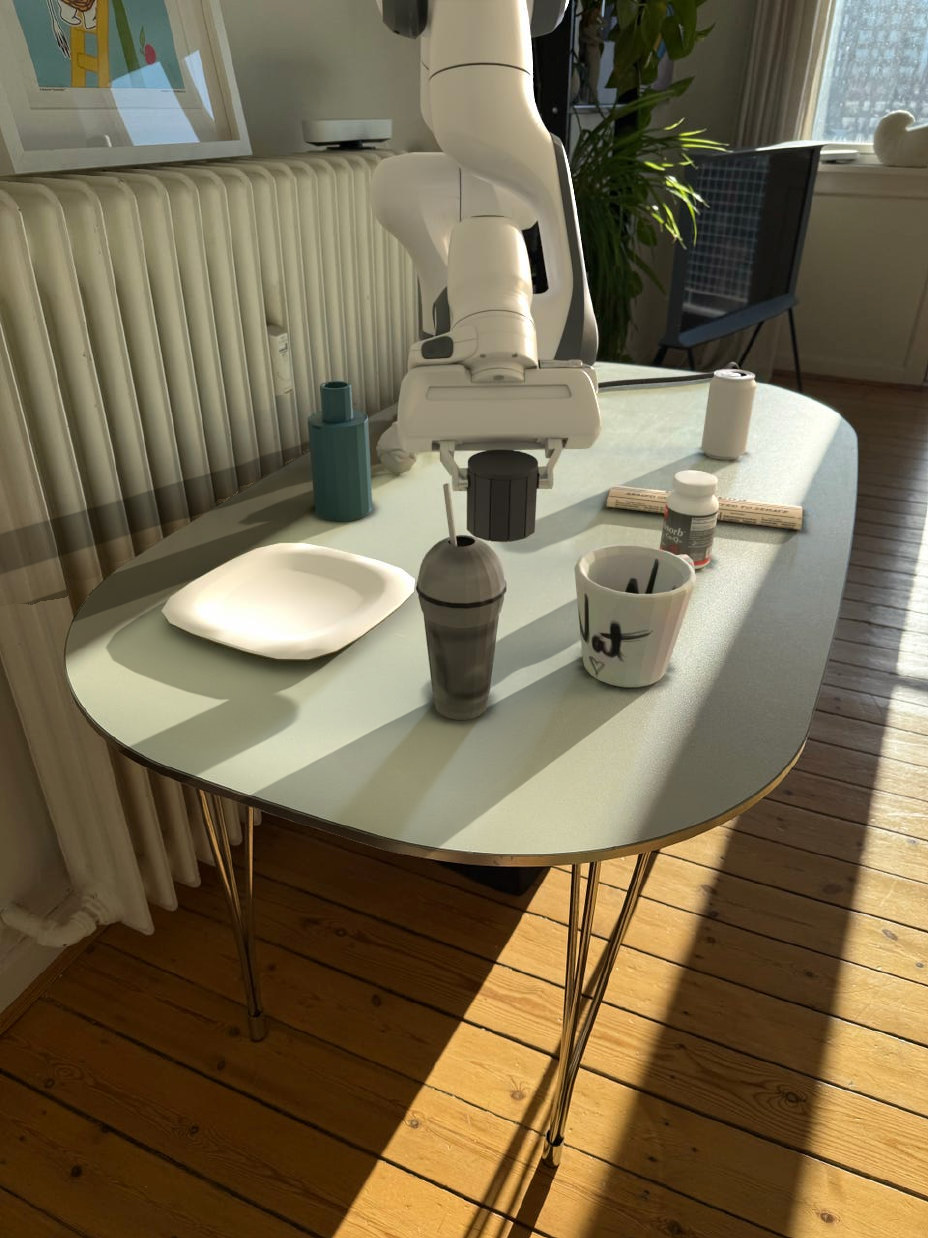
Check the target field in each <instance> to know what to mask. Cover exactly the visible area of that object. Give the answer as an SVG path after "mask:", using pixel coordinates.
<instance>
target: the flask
mask: <svg viewBox="0 0 928 1238" xmlns="http://www.w3.org/2000/svg"><path fill="white" fill-rule="evenodd" d="M352 390H353V389H352V384H351V383H350V382H348V381H345V380H344V381H343V380H331V381H326V382H322V383H321V384H320V385H319V394H320V407H321V408H320V409H321V410H320V411H318V412H315V413H312V414H311V415H309V416H307V430H308V441H309V452H310V466H311V478H312V489H313V490H312V491H313V503H314V512H315V515H316V516H317V517H318V518H320V519H321V520H325V521H330V522H342V523H343V522H344V523H345V522H353V521H358V520H361V519H363V518H366V517H368V516H369V515H371V513H372V512H373V491H372V489H373V488H372V472H371V453H370V451H371V450H370V432H369V431H370V430H369V429H370V428H369V418H368V414H366V413H364V412H362V411H358V410H354V409H353V391H352Z"/></svg>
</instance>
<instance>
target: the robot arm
mask: <svg viewBox="0 0 928 1238" xmlns="http://www.w3.org/2000/svg"><path fill="white" fill-rule="evenodd" d="M569 1H570V0H375V3H376V5H377V6H376V7H377V8H378V11H379V13H380V15H381V17H382V23H383V24H384V25H385V26H386V27H387V29H389V31H390V32H392V33H393V34H396V35H398V36H401V37H404V38H407V39H412V40H417V38H419V37H420V51H419V52H420V59H419V61H420V62H419V63H420V65H419V67H420V69H419V71H420V72H419V75H420V77H419V78H420V79H419V83H420V84H419V86H420V87H419V89H420V90H419V93H420V94H419V95H420V96H419V100H420V103H419V105H420V107H419V109H420V113H421V116H422V119H423V120H424V123H425V124H426V126H427V127H428V128H429V130H430V131H431V133H433V136H434V138H435V141H436V143H437V145H438V146H439V148H440V149H441V151H442V152H439V151H437V152H435V151H434V152H433V151H429V152H428V151H424V152H423V151H413V152H407V153H402V154H398V155H393V156H389V157H386V158H382V160H380V162H379V163H378V164H377V166H376V167H375V169H374V171H373V173H372V176H371V178H370V181H369V188H368V197H369V204H370V207H371V210H372V213H373V215H374V217H375V219H376V220H377V222H378V223H379V225H380V226H381V227H382V228H384V230H385V231H387V232H388V233H389V234H391V235H392V236H393V237H394V238H395V239H397V241H398V242H399V243H400V244H401V245H402V247H403V248H404V249H405V251H406V252H407V254H408V255H409V258H410V259H411V261H412V263H413V265H414V268H415V270H416V274H417V278H418V283H419V290H420V301H421V313H422V314H421V315H422V317H421V318H422V328H421V329H420V331H419V338H418V339H419V340H418V341H416V342H414V343H413V344H411V346H410V348H409V351H408V356H407V373H406V374H405V375H404V377H403V379H402V381H401V385H400V389H399V390H400V391H399V396H398V403H397V419H396V421H397V440H398V444H399V446H400V447H401V448H402V449H403V450H404V451H405V452H419V453H439V462H440V463H441V464H442V466H443V467H444V469H445V470H446V471H447V473H448V475H450V477H451V488H452V492H467V490H468V489H467V488H468V478H467V475H468V474H467V469H468V467H459V464H457V462H456V461H455V453H456V452H483V451H488V450H514V451H540V450H541V451H542V450H543V451H544V456H545V458H546V459H548V462H547V463H546V465H543V466H538V477H537V490H552V489H553V487H554V481H555V480H554V469H555V467H556V465H557V463H558V462H559V459H560V457H561V454H562V451H563V450H587V449H591V448H592V447H593V445H594V444H595V443H596V442H597V440H598V439H599V437H600V435H601V432H602V429H603V424H602V415H601V411H600V406H599V403H598V398H597V395H598V393H599V389H605V388H613V387H623V386H636V385H652V384H653V385H654V384H666V383H667V384H669V383H682V382H692V381H701V380H707V379H712V378H713V377H714V372H715V371H712V372H711V371H710V372H706V373H697V374H689V375H677V376H663V377H660V376H659V377H647V378H646V377H645V378H631V379H619V380H617V379H616V380H610V381H609V380H608V381H602V382H599V381H598V380H599V379H598V374H597V371H596V369H594V368H593V366H594V365H595V363H596V360H597V354H598V349H599V330H598V324H597V320H596V316H595V313H594V308H593V303H592V299H591V294H590V289H589V285H588V280H587V279H588V278H587V272H586V267H585V260H584V252H583V246H582V240H581V233H580V225H579V218H578V212H577V205H576V200H575V194H574V188H573V182H572V177H571V171H570V166H569V162H568V158H567V154H566V150H565V147H564V145H563V142H562V140H561V138H560V137H559V136H557V135H555V134H554V133H552V132H550V131H548V129H547V127H546V126H545V123H544V122H543V120H542V118H541V115H540V113H539V111H538V107H537V104H536V102H535V95H534V81H533V78H534V75H533V73H534V71H533V50H532V38H537V37H541V36H544V35H547V34H550V33H552V32H553V31H554V30H555V29H556V28H557V27H558V26H559V25H560V24H561V22H563V18H564V16H565V11H566V10H567V7H568V4H569ZM536 223H537V225H538V229H539V230H538V231H539V235H540V236H539V237H540V241H541V247H542V254H543V261H544V267H545V273H546V279H547V286H548V289H547V290H546V291H545V292H542V293H533V292H534V291H533V280H532V273H531V271H532V270H531V265H530V259H529V254H528V250H527V245H526V242H525V241H526V240H525V238H524V237H525V236H524V234H523V231H524V230H529V229H531V228H532V227H533V226H534V225H535V224H536ZM722 369H738V370H741V369H740V367H739V365H738V364H737V363H736V362H734V361H731V362H729V363H728V364H726V365H725V366H724V367H723V368H722Z"/></svg>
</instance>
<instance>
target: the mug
mask: <svg viewBox="0 0 928 1238" xmlns="http://www.w3.org/2000/svg"><path fill="white" fill-rule="evenodd" d="M573 570H574V579H575V581H574V582H575V590H576V600H577V601H576V602H577V611H578V622H579V633H580V644H581V645H580V646H581V655H582V661H583V666H584V668H585V670H586V671H587V672H588V673H589V675H590V676H592V677H593V678H594V679H596V680H598V681H600V682H603V683H605V684H607V685H611V686H616V687H620V688H641V687H647V686H651V685H652V684H655V683H657V682H659V681H660V680H661V679H662V678H663V677H664V676H665V675H666V673H667V670H668V667H669V664H670V661H671V658H672V654H673V652H674V649H675V646H676V643H677V639H678V636H679V633H680V631H681V627H682V626H683V625H682V624H683V621H684V618H685V615H686V612H687V609H688V606H689V602H690V601H691V597H692V594H693V591H694V588H695V584H696V580H697V574H696V569H694V563H693V560H692V559H691V558H690V557H689V556H688V555H674V554H672V553H670V552H667V551H663V550H660V548H655V547H652V546H647V545H646V546H645V545H637V544H613V545H606V546H601V547H597V548H594V549H591V550H589V551H586V552H585V553H584V554H582V555H581V556H579V557H578V559H577V561H576V563H575V565H574V568H573Z"/></svg>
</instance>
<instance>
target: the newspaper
mask: <svg viewBox="0 0 928 1238" xmlns="http://www.w3.org/2000/svg"><path fill="white" fill-rule="evenodd" d="M672 492H673V491H667V490H660V489H659V490H658V489H651V488H650V489H649V488H643V487H642V488H641V487H634V486H625V485H615V484H613V485H612V486H611V487H610V490H609V492H608V495H607V498H606V504H605V505H606V508H613V509H622V510H630V511H640V512H647V513H656V514H664V513H665V506H666V500H667V497H668V496H669V495H670V494H671V493H672ZM715 497H716V499H717V500H718V503H719V508H718V515H717V521H721V522H729V523H731V522H732V523H739V524H747V525H756V526H763V527H764V526H765V527H773V528H780V529H781V528H783V529H790V530H798V531H801V529H802V524H803V507H802V506H801V505H791V504H783V503H774V502H766V501H765V502H764V501H756V500H748V499H747V500H746V499H738V498H732V497H731V498H730V497H722V496H721V497H720V496H715Z"/></svg>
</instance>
